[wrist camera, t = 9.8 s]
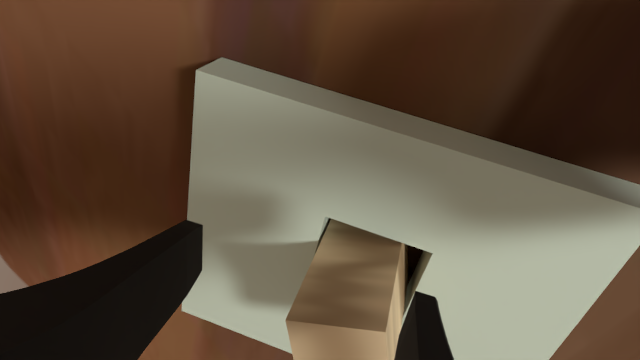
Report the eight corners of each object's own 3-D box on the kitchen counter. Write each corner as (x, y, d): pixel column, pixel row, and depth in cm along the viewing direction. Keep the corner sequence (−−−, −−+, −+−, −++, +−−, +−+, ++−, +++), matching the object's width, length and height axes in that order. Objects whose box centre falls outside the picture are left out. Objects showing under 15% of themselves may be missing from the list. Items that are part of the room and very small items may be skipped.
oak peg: (406, 216, 23) (385, 332, 16) (408, 276, 25) (390, 402, 18) (333, 213, 24) (285, 319, 17) (340, 270, 26) (299, 387, 19)
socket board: (640, 184, 19) (663, 215, 17) (488, 393, 27) (491, 431, 25) (221, 57, 21) (195, 69, 19) (201, 284, 30) (181, 310, 28)
